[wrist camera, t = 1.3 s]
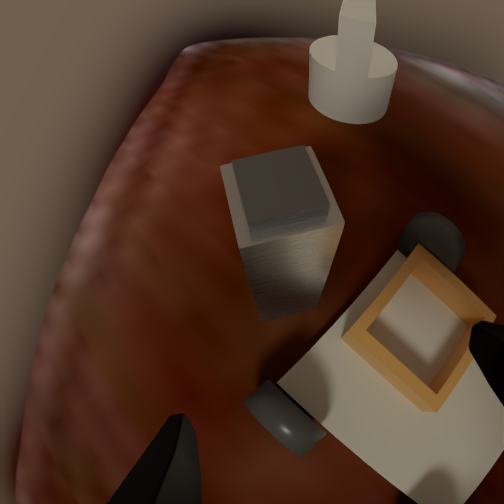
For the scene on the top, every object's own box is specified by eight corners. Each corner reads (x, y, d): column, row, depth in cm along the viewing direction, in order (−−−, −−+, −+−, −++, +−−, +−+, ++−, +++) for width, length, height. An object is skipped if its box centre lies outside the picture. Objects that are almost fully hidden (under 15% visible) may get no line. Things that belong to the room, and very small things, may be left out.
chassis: (543, 371, 17) (579, 360, 13) (423, 542, 13) (449, 566, 9) (403, 233, 24) (423, 199, 20) (248, 399, 20) (238, 401, 16)
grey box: (316, 308, 22) (348, 212, 11) (261, 322, 22) (236, 239, 11) (300, 258, 24) (311, 134, 13) (248, 271, 24) (217, 155, 13)
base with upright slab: (315, 70, 34) (316, -16, 23) (387, 85, 32) (403, 0, 22) (301, 114, 31) (301, 11, 20) (386, 132, 29) (412, 32, 18)
